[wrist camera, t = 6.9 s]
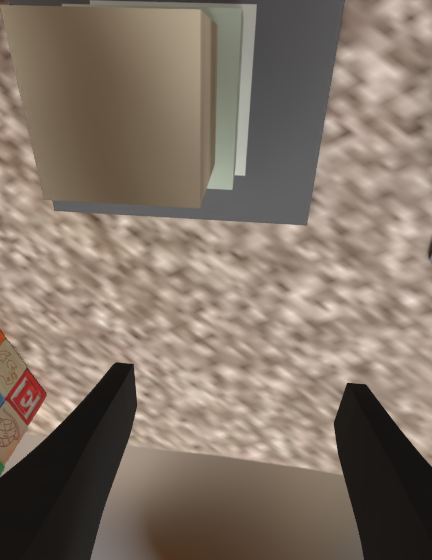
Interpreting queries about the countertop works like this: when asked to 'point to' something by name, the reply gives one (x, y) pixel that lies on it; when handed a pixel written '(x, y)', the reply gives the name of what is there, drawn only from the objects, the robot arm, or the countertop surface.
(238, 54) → the sage block
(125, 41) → the birch block
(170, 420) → the countertop surface
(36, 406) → the stack of blocks
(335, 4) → the mat
